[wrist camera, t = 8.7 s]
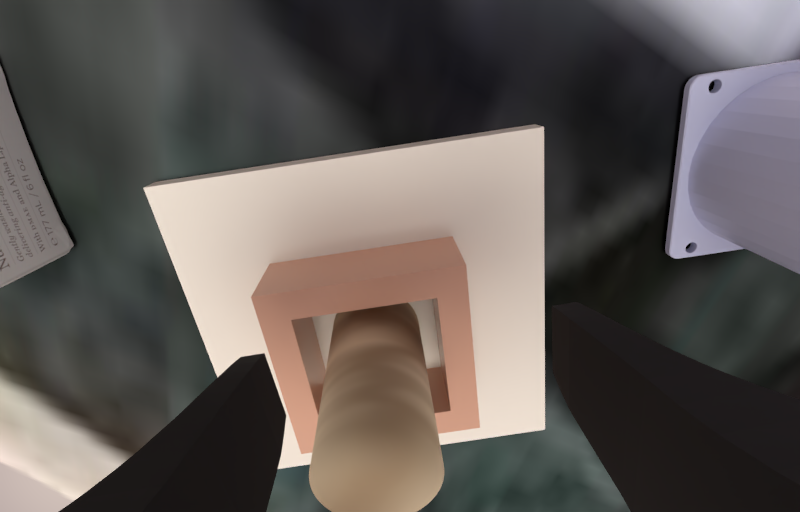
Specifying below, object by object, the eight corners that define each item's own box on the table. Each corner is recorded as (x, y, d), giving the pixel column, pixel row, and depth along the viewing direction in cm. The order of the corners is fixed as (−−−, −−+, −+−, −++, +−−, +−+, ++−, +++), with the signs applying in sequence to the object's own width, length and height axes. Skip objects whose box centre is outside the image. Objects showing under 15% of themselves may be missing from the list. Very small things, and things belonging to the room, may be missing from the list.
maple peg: (430, 303, 20) (464, 441, 12) (402, 371, 21) (417, 531, 14) (346, 280, 19) (329, 412, 11) (323, 352, 20) (294, 509, 13)
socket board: (535, 124, 18) (577, 137, 14) (538, 416, 24) (568, 477, 20) (155, 181, 18) (97, 210, 14) (259, 457, 24) (238, 526, 20)
